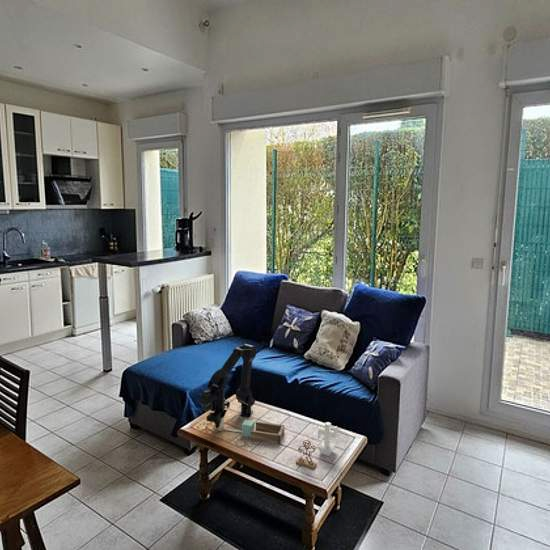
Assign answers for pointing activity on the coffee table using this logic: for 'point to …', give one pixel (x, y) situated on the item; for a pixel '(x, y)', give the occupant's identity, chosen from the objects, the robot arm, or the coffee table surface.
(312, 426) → the coffee table surface
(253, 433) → the open wooden tray
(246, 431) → the block with cord
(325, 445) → the figurine
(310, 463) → the wire sculpture
